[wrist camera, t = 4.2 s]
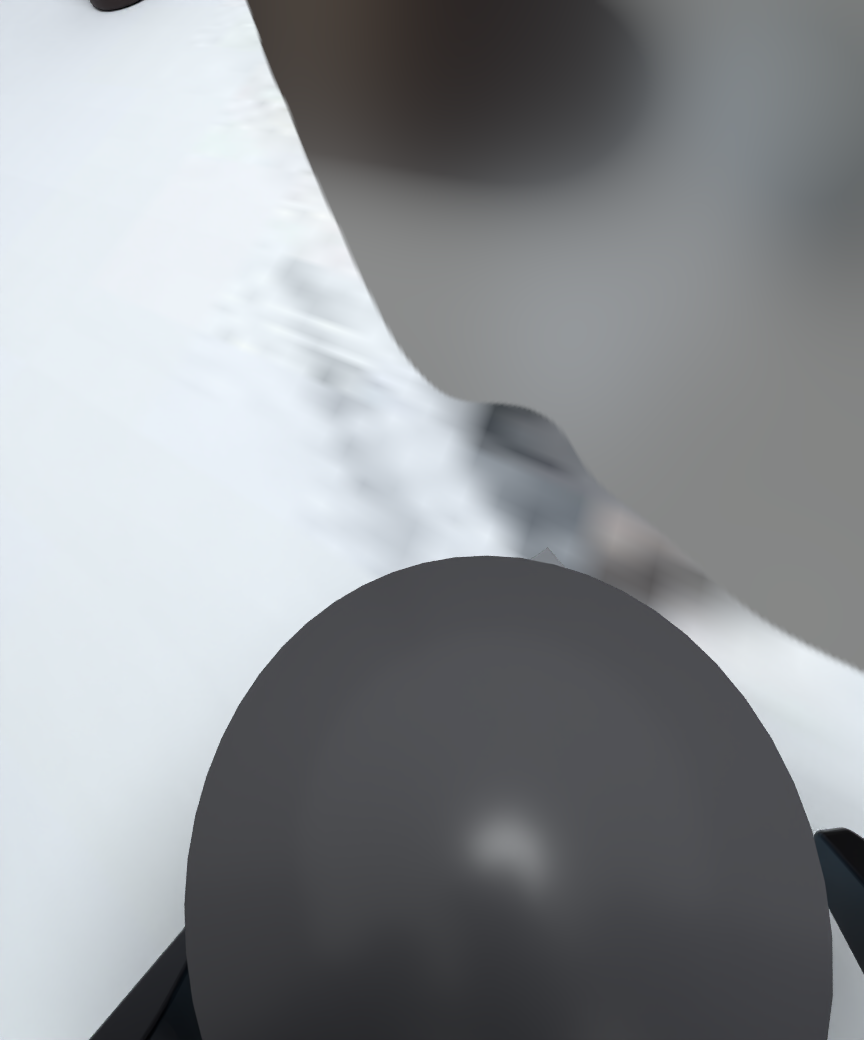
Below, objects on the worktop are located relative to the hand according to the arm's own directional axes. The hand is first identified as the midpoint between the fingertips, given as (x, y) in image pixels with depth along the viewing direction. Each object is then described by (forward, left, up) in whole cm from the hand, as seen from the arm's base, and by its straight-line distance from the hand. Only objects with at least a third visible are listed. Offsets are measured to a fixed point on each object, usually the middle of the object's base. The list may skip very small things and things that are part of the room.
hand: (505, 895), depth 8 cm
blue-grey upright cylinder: (0, +1, -9) cm, 9 cm away
